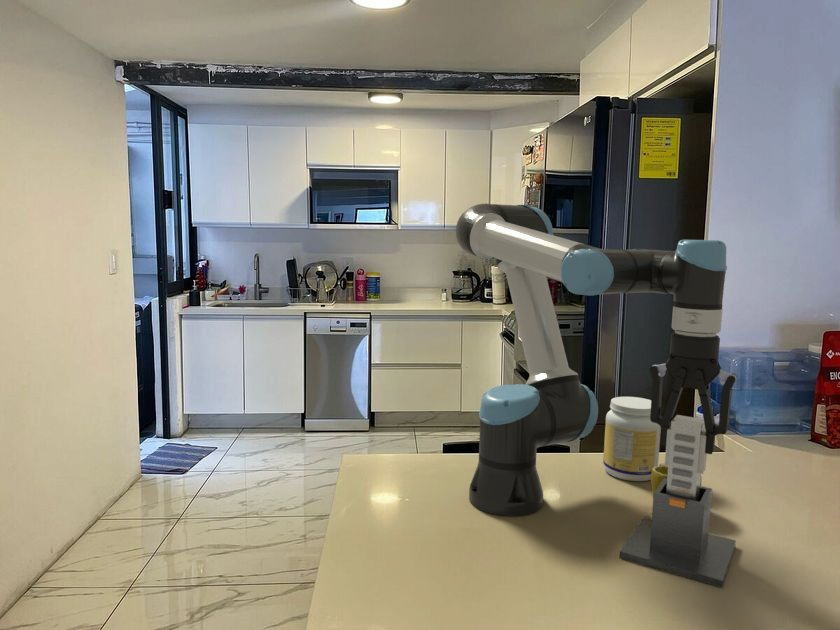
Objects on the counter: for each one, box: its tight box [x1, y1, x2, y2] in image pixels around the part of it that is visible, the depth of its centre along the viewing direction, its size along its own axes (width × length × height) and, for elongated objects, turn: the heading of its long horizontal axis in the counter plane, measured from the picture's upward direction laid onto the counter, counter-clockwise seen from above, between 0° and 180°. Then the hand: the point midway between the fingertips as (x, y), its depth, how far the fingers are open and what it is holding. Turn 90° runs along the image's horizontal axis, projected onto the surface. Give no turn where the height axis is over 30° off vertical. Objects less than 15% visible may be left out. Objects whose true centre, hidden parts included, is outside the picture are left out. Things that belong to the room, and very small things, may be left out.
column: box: [666, 414, 706, 502], centre depth 107 cm, size 5×5×22 cm
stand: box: [619, 478, 736, 589], centre depth 109 cm, size 16×16×11 cm
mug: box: [650, 462, 703, 496], centre depth 128 cm, size 12×10×10 cm
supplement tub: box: [602, 396, 661, 482], centre depth 145 cm, size 12×12×17 cm
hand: (684, 467), depth 107 cm, fingers closed on column, 5 cm apart
